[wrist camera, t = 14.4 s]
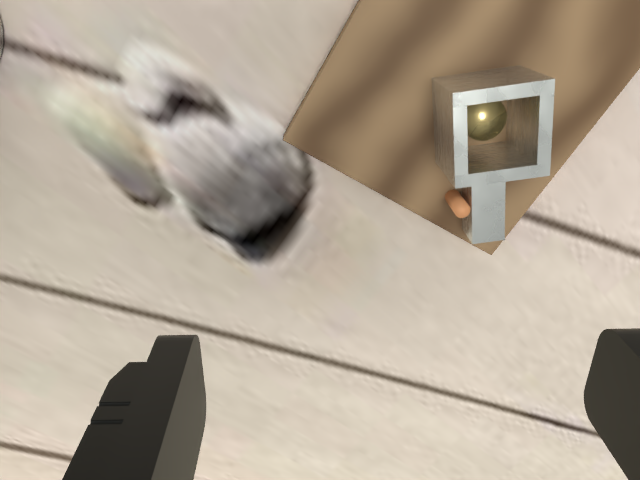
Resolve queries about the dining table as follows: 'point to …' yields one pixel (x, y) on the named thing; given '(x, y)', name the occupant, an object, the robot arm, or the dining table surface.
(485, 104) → the small yellow jar
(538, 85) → the square container with handle
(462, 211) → the dowel
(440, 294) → the dining table surface
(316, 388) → the dining table surface
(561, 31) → the board
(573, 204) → the dining table surface
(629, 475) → the robot arm
